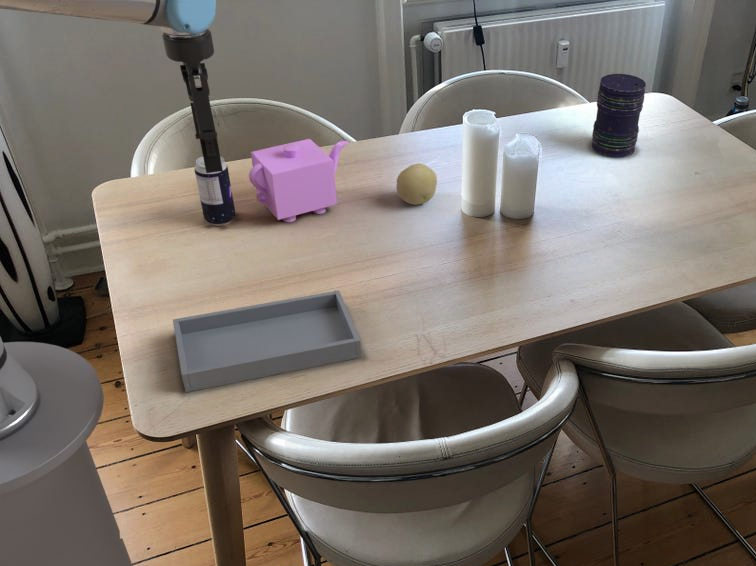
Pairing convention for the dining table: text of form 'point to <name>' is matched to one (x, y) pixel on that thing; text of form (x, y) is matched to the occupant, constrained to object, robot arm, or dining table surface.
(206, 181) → the beverage can
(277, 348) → the tray
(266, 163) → the teapot
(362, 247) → the dining table surface
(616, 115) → the dark blue cylinder
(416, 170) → the potato
